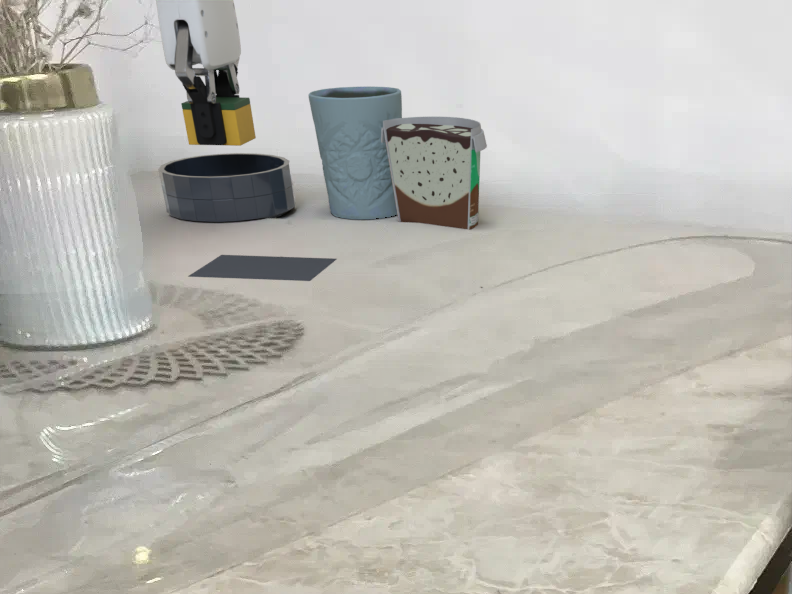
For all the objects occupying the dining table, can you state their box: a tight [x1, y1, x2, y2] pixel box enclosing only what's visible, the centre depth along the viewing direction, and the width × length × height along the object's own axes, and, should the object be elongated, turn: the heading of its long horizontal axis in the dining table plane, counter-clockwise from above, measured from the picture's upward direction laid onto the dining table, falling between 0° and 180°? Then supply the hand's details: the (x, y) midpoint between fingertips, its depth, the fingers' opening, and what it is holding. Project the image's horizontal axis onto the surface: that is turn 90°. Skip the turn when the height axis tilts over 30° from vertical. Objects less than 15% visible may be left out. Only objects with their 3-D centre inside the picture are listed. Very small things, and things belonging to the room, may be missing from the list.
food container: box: [381, 116, 488, 231], centre depth 122 cm, size 12×6×10 cm, turn 59°
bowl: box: [158, 152, 296, 223], centre depth 128 cm, size 14×14×5 cm
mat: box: [187, 254, 338, 282], centre depth 109 cm, size 12×8×1 cm, turn 81°
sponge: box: [180, 96, 257, 147], centre depth 124 cm, size 6×4×4 cm
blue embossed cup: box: [308, 86, 403, 220], centre depth 127 cm, size 10×10×12 cm
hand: (221, 138), depth 125 cm, fingers closed on sponge, 4 cm apart
